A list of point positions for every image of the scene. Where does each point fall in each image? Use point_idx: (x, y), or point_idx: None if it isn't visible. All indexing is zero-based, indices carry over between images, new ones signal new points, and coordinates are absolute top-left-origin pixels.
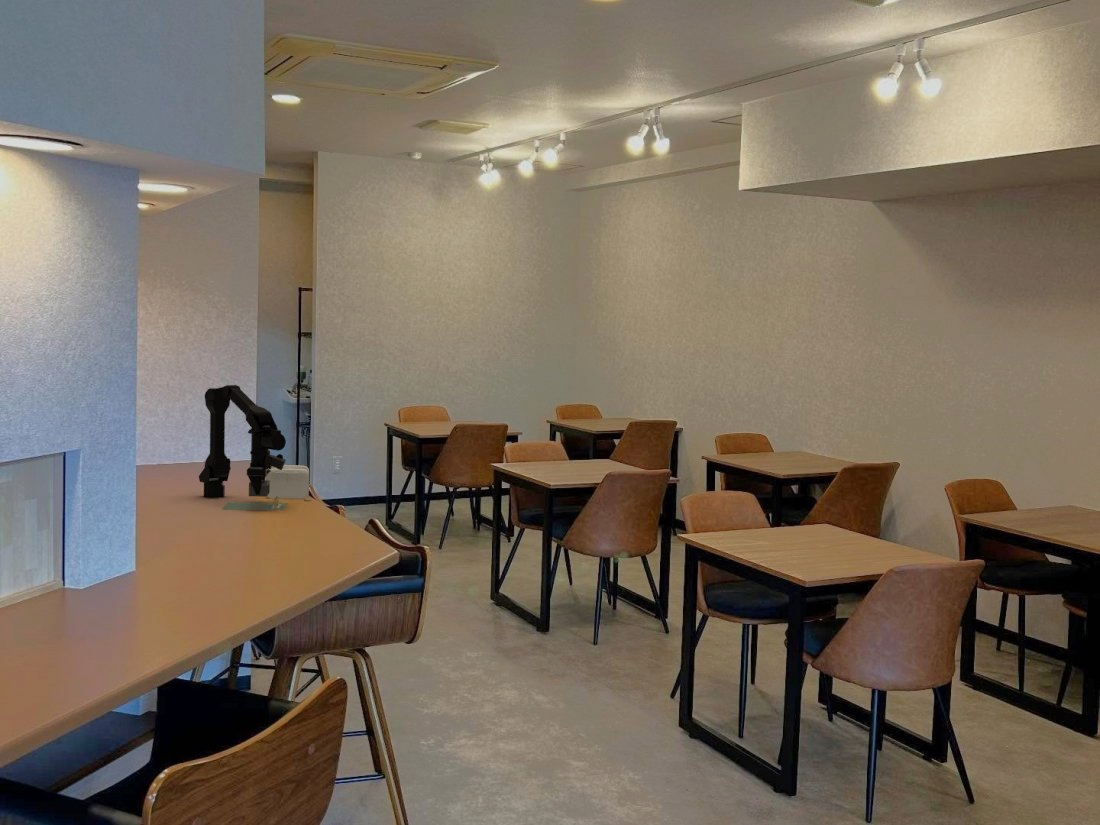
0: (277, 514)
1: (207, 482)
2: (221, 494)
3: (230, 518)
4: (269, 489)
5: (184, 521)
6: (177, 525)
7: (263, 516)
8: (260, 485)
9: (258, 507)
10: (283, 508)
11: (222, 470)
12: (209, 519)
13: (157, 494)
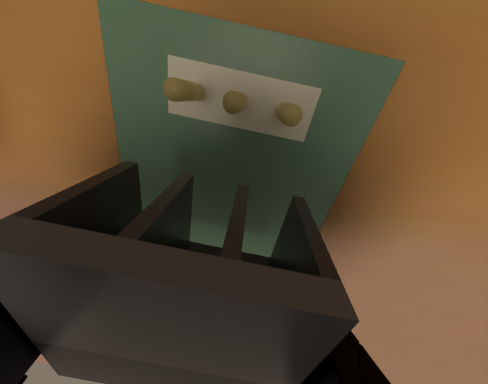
0: (441, 112)
1: (24, 379)
2: None
3: (414, 294)
4: (107, 174)
5: (390, 365)
6: (435, 377)
7: (453, 192)
8: (363, 351)
9: (262, 201)
10: (337, 52)
11: None
12: (395, 332)
13: (41, 354)
